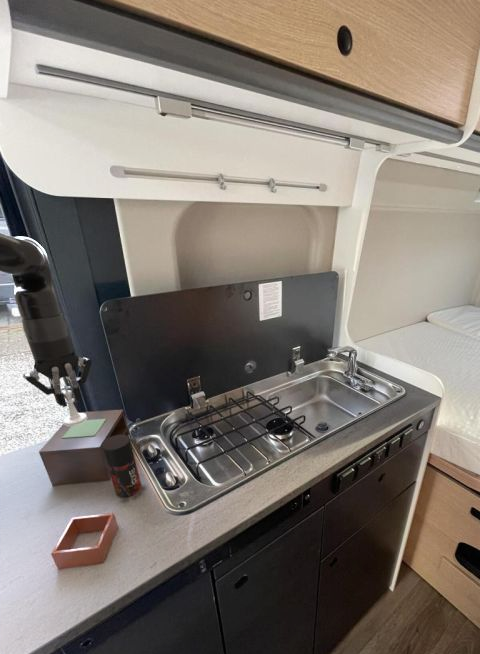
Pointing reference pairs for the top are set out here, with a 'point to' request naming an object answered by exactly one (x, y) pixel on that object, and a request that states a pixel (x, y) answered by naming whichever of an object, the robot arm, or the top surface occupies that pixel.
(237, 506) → the top surface
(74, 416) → the chess piece
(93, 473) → the green-topped wooden plinth
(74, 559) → the reddish-brown hollow diamond-shaped frame
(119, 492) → the deodorant
